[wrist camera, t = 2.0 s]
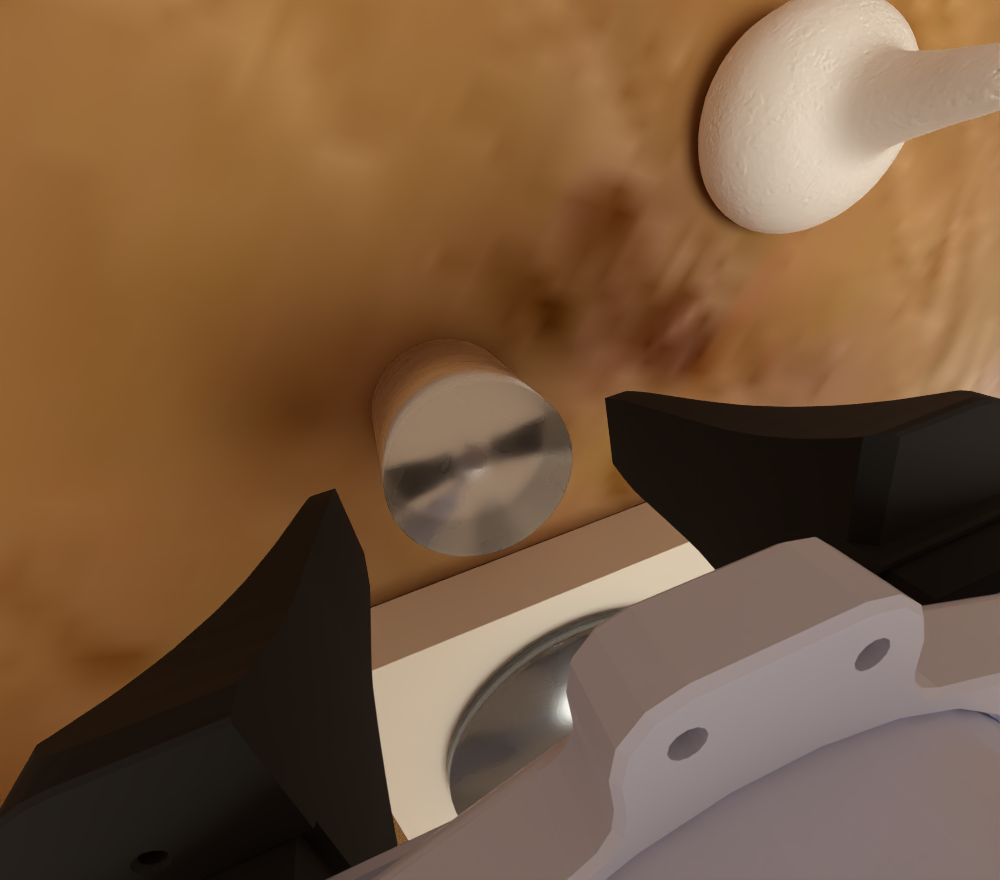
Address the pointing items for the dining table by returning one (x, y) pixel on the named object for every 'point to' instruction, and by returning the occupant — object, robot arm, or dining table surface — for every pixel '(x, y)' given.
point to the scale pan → (515, 715)
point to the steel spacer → (466, 449)
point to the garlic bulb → (828, 109)
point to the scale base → (499, 637)
